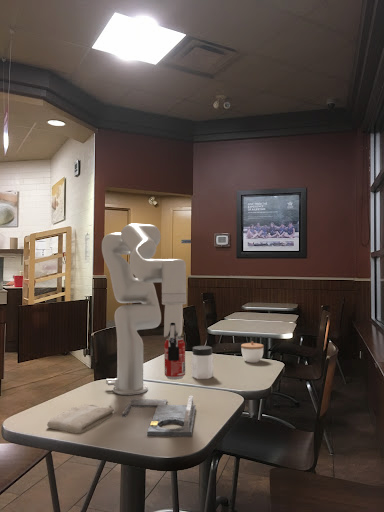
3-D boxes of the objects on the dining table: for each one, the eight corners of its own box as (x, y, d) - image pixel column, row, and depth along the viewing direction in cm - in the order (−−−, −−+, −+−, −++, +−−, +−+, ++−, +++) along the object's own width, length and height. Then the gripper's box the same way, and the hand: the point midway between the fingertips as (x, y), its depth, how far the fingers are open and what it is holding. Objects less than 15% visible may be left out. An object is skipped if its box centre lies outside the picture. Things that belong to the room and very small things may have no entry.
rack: (147, 435, 119) (147, 420, 119) (158, 408, 141) (158, 395, 141) (191, 436, 118) (191, 420, 118) (195, 408, 141) (195, 395, 141)
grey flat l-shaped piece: (122, 416, 134) (122, 414, 134) (132, 401, 149) (132, 398, 149) (161, 417, 133) (161, 414, 133) (167, 401, 149) (167, 399, 149)
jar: (188, 375, 183) (188, 346, 184) (204, 373, 187) (204, 344, 188) (199, 380, 176) (199, 350, 176) (216, 377, 180) (216, 348, 180)
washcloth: (116, 415, 137) (116, 405, 137) (81, 436, 120) (81, 424, 120) (84, 410, 141) (84, 401, 141) (46, 430, 125) (46, 419, 125)
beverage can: (174, 374, 138) (173, 336, 139) (189, 377, 134) (189, 337, 135) (160, 378, 134) (160, 338, 134) (175, 381, 130) (175, 340, 130)
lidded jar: (238, 359, 215) (238, 340, 215) (259, 358, 216) (259, 339, 217) (245, 364, 204) (244, 343, 204) (267, 363, 206) (266, 343, 206)
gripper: (165, 297, 144) (165, 352, 143) (158, 301, 126) (158, 364, 126) (188, 297, 143) (188, 352, 143) (184, 301, 126) (185, 364, 125)
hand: (174, 357), depth 134 cm, fingers closed on beverage can, 6 cm apart
